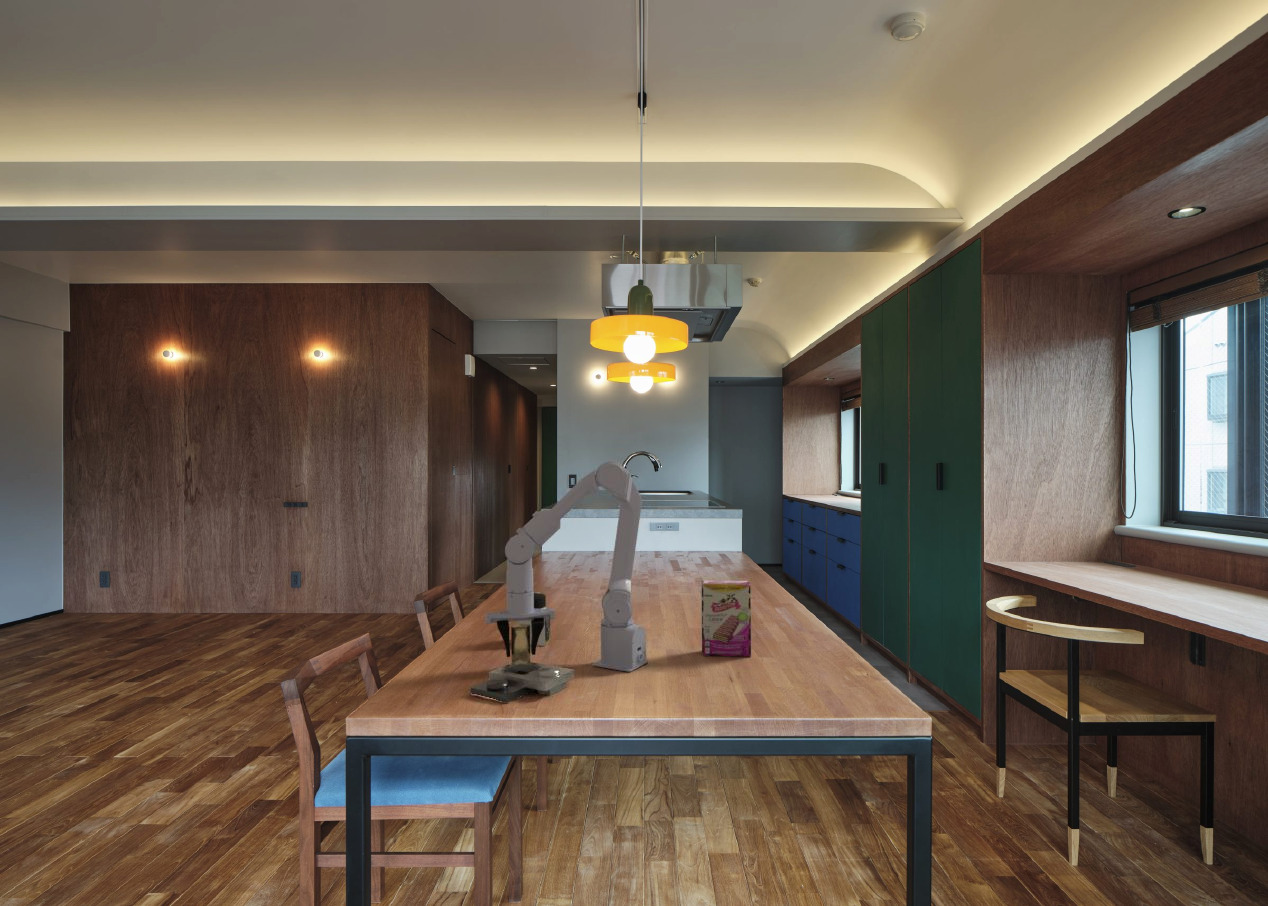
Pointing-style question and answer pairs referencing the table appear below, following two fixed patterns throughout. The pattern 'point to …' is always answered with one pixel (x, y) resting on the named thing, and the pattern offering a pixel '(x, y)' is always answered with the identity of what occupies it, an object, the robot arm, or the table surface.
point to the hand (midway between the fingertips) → (520, 654)
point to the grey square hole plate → (534, 676)
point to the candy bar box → (726, 618)
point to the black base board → (501, 689)
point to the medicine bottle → (545, 633)
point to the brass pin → (520, 642)
